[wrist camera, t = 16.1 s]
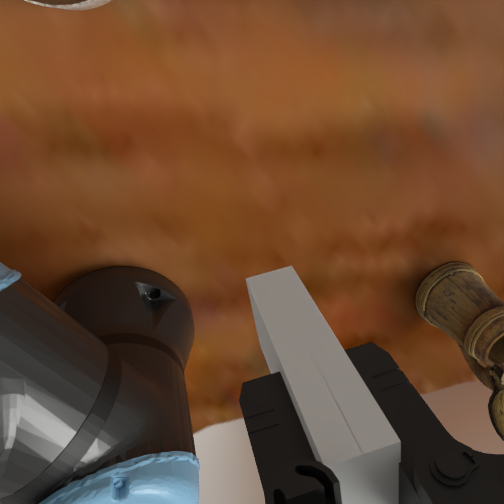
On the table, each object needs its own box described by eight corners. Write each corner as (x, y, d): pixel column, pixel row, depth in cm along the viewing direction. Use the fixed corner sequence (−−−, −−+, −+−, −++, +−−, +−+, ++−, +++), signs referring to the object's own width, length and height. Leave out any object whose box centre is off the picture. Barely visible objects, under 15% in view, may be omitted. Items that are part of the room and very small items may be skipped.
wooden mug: (400, 349, 60) (492, 465, 45) (423, 264, 54) (538, 364, 39) (457, 342, 62) (562, 450, 47) (485, 259, 56) (618, 352, 41)
